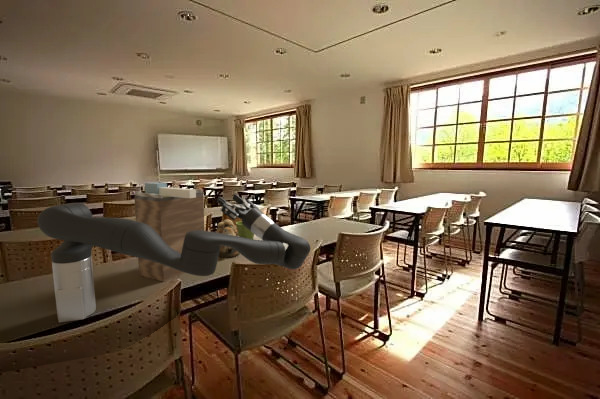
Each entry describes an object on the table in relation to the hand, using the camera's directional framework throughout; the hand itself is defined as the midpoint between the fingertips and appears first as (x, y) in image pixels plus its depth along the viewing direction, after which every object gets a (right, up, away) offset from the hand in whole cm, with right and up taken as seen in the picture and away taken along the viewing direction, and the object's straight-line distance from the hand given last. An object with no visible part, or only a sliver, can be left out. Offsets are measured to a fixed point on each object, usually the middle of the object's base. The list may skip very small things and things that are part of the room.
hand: (226, 197), depth 105 cm
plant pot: (-4, -25, +61) cm, 66 cm away
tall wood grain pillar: (-27, -30, +19) cm, 45 cm away
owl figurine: (-11, -28, +42) cm, 51 cm away
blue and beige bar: (-23, +1, +8) cm, 25 cm away
